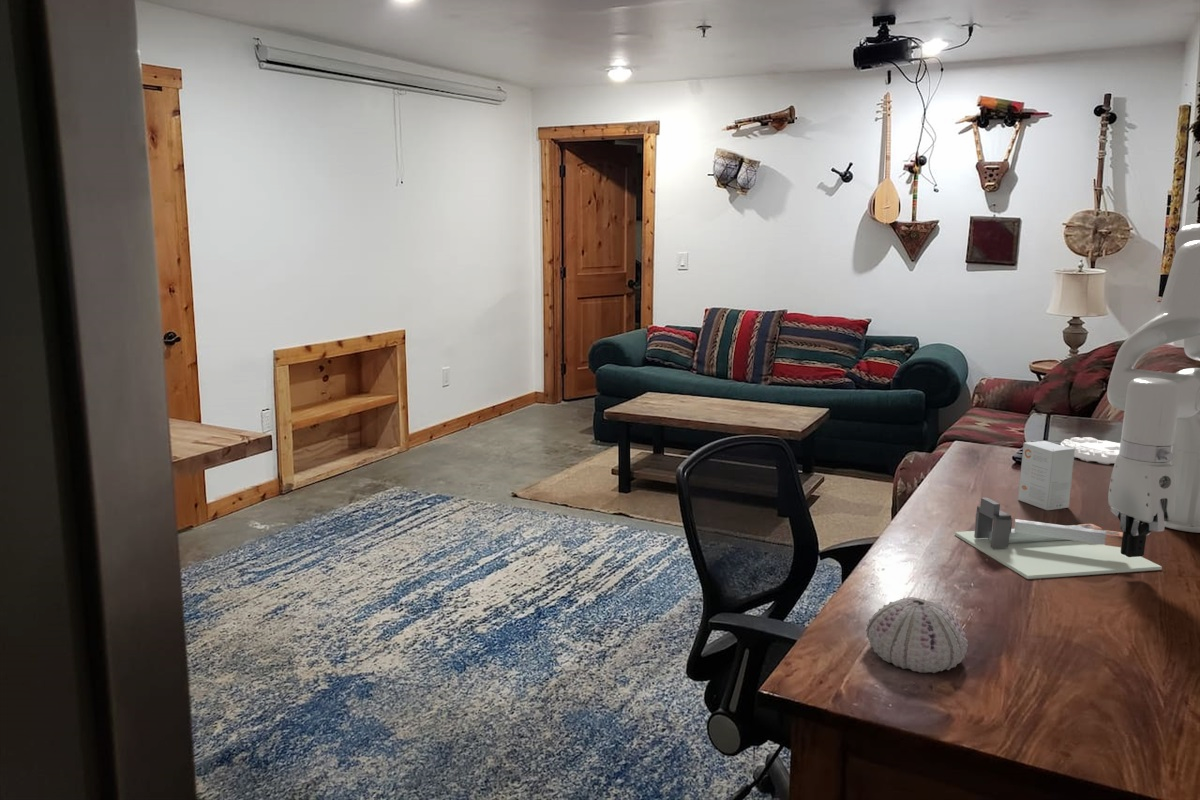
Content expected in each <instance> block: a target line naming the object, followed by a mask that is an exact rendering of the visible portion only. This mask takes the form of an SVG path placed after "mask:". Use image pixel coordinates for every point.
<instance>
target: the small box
mask: <svg viewBox="0 0 1200 800" xmlns="http://www.w3.org/2000/svg"><path fill="white" fill-rule="evenodd" d="M1022 446H1023V448H1022V457H1021V465H1020V475H1019V487H1018V494H1017V495H1018V496H1017V500H1018V501H1020V502H1023V503H1026V504H1029V505H1031V506H1034V507H1037V508H1040V509H1042V510H1045V511H1054V510H1062V509H1066V508H1067V509H1068V508H1069V507H1070V500H1071V499H1070V498H1071V490H1072V480H1073V471H1074V462H1075V457H1074V453H1075V449H1073V448H1069V447H1066V446H1062V445H1060V444H1058V443H1053V442H1051V441H1047V440H1040V441H1038V440H1037V441H1027V442H1026V441H1025V442H1023V445H1022Z"/></svg>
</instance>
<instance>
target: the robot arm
mask: <svg viewBox="0 0 1200 800" xmlns="http://www.w3.org/2000/svg"><path fill="white" fill-rule="evenodd" d="M1174 251H1175V254H1174V255H1173V256H1174V257H1173V259H1172V264H1171V268H1170V270H1169V274H1168V277H1167V281H1166V285H1165V288H1164V292H1163V294H1162V299H1161V302H1160V306H1159V309H1158V313H1157V314H1156V316H1155V317H1153V318H1152V319H1150V320H1148V321H1147V322H1146V323H1144V324H1143V325H1141V326H1139V328H1137V329H1136V330H1135V331H1134V332H1132V333H1131V335H1129V336H1128V337H1127V338H1126V339H1125V340H1124V342H1123V343H1122V344H1121V346H1120V347H1119V348H1118V351H1117V353H1116V357H1115V358H1114V362H1113V365H1112V369H1111V372H1110V375H1109V379H1108V384H1107V389H1106V390H1107V391H1106V394H1107V395H1106V397H1107V401H1108V402H1109V404H1110V405H1111V406H1112V407H1113V408H1114V409H1117V410H1120V411H1124V412H1123V421H1122V428H1121V437H1120V442H1119V443H1120V451H1119V454H1118V456H1117V458H1116V461H1115V463H1113V464H1114V465H1113V468H1112V471H1111V475H1110V481H1109V488H1108V495H1107V496H1108V497H1107V499H1108V500H1107V502H1108V503H1107V504H1108V506H1110V512H1111V513H1112V514H1113V515H1114V516H1115V517H1117V518H1118V520H1119V523H1120V530H1121V532H1123V537H1122V545H1121V554H1123V555H1126V556H1127V557H1140V556H1141V557H1143V556H1144V555H1145V549H1146V548H1145V547H1146V540H1147V536H1149V535H1150V534H1151V533H1152V532H1156V533H1157V532H1164V531H1165V528H1167V529H1171V530H1176V531H1180V532H1181V531H1182V532H1189V533H1198V534H1199V533H1200V367H1189V368H1183V369H1180V370H1179V371H1176V372H1173V373H1172V372H1165V371H1157V370H1147V369H1138V368H1135V367H1136V365H1137V363H1138V362H1139V360H1140V359H1141V358H1142V357H1144V355H1146V354H1147V353H1149V352H1150V351H1152V350H1154V349H1156V348H1159V347H1161V346H1164V345H1168V344H1170V343H1175V342H1178V341H1182V340H1183V351H1184V353H1185V355H1186V356H1187V357H1188V358H1190V359H1192V360H1194V361H1199V362H1200V223H1199V222H1198V223H1193V224H1188V225H1184V226H1183V227H1181V228H1180V229H1178V231H1177V232H1176V235H1175V237H1174Z"/></svg>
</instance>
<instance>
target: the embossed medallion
mask: <svg viewBox="0 0 1200 800" xmlns="http://www.w3.org/2000/svg"><path fill="white" fill-rule="evenodd" d="M1120 443H1121V442H1116V441H1115V442H1114V441H1110V440H1107V439H1106V440H1100V439H1097V438H1095V437H1089V436H1085V437H1084V436H1083V437H1079V436H1078V437H1077V436H1074V437H1070V439H1065V438H1064V440H1061V441H1060V444H1059V445H1062V446H1066V447H1069V448H1073V449H1075V453H1074V459H1076V458H1078V459H1080V460H1081V461H1085V462H1096V463H1097V464H1103V465H1110V464H1115V461H1116V458H1117V456H1118V454H1119V451H1120Z"/></svg>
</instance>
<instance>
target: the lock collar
mask: <svg viewBox="0 0 1200 800" xmlns="http://www.w3.org/2000/svg"><path fill="white" fill-rule="evenodd" d="M980 498H981V499H980V505H979V506H977V507H976V514H975V524H974V525H975V526H974V531H975V534H974V537H975V538H976V539H980V538H988V536H989V530H992V539H991V547H992V548H1008V544H1009V534H1010V525H1011V518H1012V515H1010V514H1009V513H1007V512H1005V511H1003V510H1001V509H1000V508H1001V503H999V502H997V501H995V500H993V499H991V498H989V497H980Z"/></svg>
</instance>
